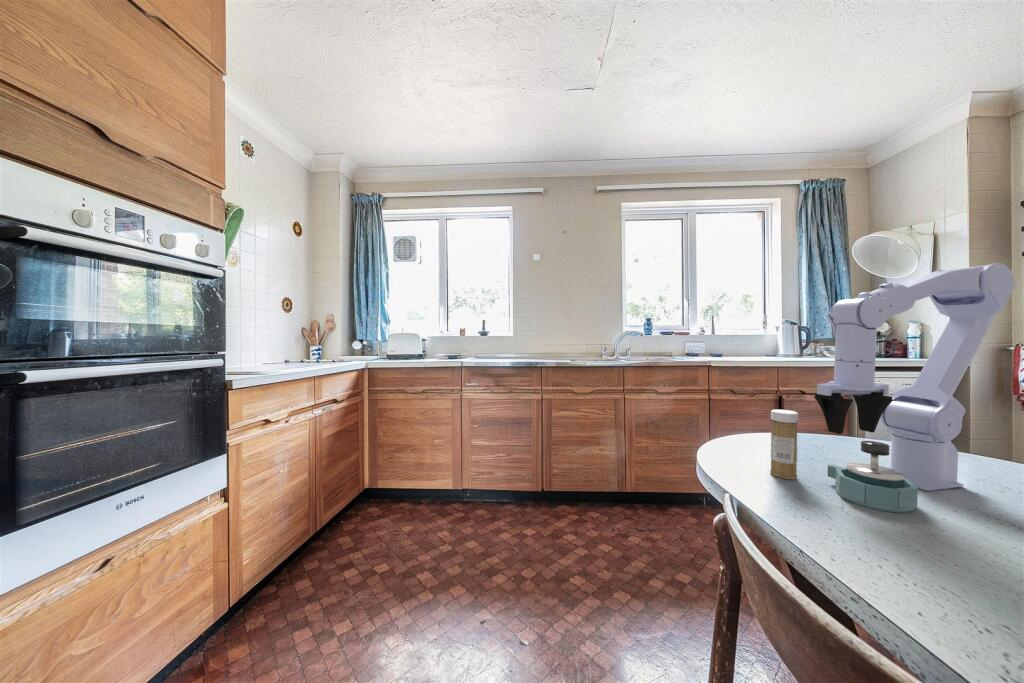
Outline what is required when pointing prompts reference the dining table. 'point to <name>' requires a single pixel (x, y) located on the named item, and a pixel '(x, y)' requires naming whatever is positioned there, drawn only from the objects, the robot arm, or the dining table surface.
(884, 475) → the doorknob
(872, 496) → the teal tabbed tray
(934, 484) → the robot arm
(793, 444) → the sprinkles bottle
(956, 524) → the dining table surface
